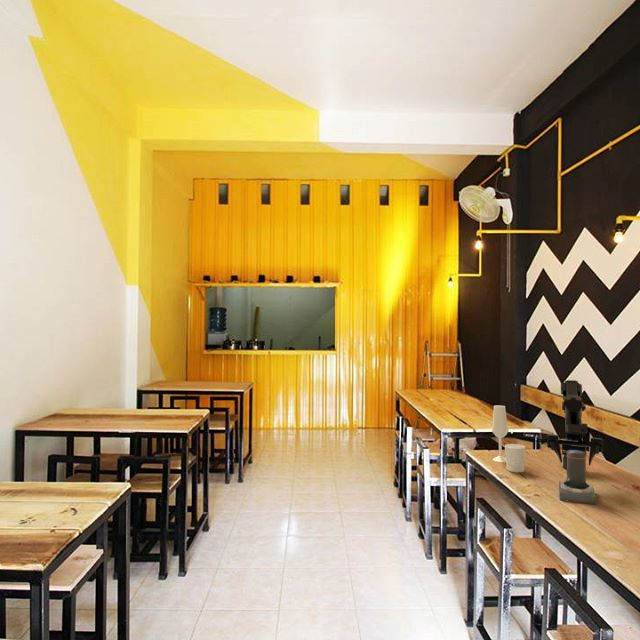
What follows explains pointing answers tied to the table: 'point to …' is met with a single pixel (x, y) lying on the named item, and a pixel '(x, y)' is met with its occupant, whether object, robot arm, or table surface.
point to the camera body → (577, 493)
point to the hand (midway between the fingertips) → (575, 463)
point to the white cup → (515, 457)
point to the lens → (576, 469)
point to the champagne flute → (499, 428)
